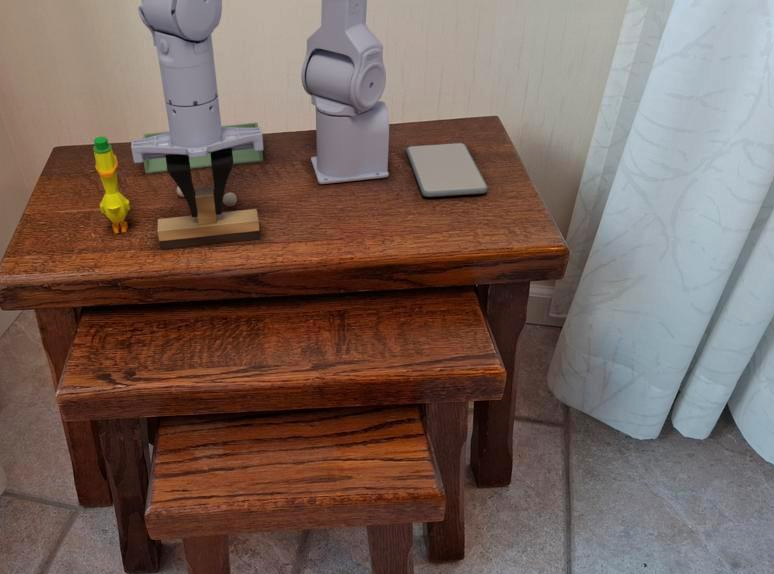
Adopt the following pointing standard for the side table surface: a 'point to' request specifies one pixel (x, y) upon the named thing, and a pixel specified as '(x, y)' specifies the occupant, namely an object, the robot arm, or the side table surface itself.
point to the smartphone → (445, 170)
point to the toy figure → (110, 185)
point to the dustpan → (205, 161)
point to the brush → (208, 225)
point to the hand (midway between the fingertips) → (206, 212)
